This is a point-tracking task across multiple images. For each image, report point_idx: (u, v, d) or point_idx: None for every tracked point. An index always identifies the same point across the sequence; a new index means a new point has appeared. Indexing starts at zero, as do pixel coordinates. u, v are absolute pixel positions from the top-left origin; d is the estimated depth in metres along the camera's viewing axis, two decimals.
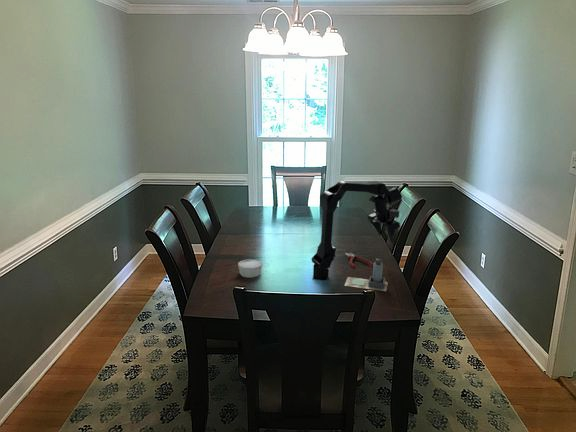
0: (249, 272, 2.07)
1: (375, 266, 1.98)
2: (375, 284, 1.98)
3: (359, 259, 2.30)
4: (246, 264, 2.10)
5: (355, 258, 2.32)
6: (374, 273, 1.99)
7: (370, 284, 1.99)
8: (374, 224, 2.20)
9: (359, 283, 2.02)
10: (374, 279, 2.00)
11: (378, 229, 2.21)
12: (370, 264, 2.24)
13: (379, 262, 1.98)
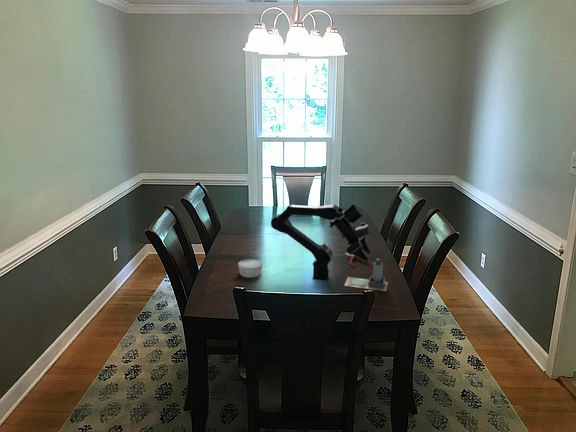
0: (249, 272, 2.07)
1: (375, 266, 1.98)
2: (375, 284, 1.98)
3: (359, 259, 2.30)
4: (246, 264, 2.10)
5: (355, 258, 2.32)
6: (374, 273, 1.99)
7: (370, 284, 1.99)
8: None
9: (359, 283, 2.02)
10: (374, 279, 2.00)
11: (365, 248, 2.05)
12: (370, 264, 2.24)
13: (379, 262, 1.98)
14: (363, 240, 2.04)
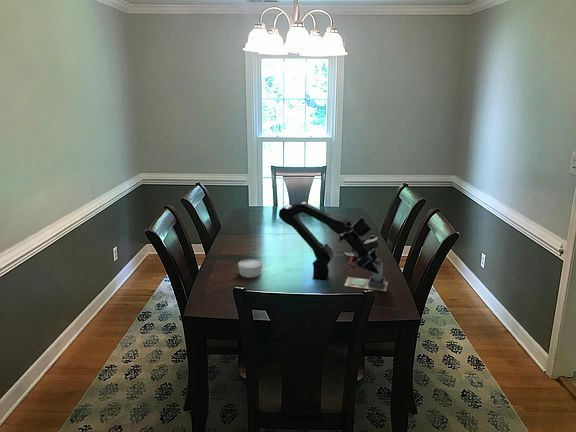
0: (249, 272, 2.07)
1: (375, 266, 1.98)
2: (375, 284, 1.98)
3: None
4: (246, 264, 2.10)
5: (355, 258, 2.32)
6: (374, 273, 1.99)
7: (370, 284, 1.99)
8: None
9: (359, 283, 2.02)
10: (374, 279, 2.00)
11: None
12: None
13: (379, 262, 1.98)
14: (373, 253, 2.04)
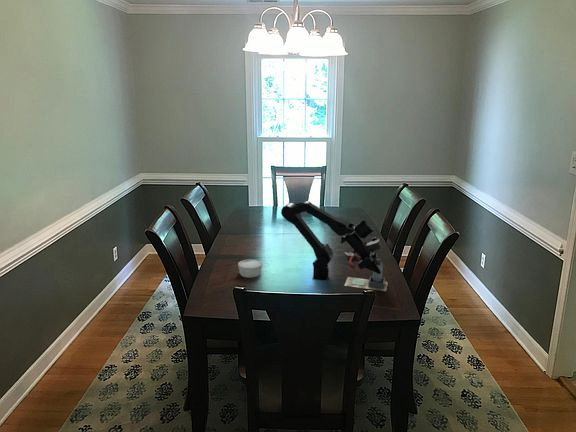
0: (249, 272, 2.07)
1: None
2: (375, 284, 1.98)
3: (358, 258, 2.31)
4: (246, 264, 2.10)
5: (354, 257, 2.33)
6: (374, 273, 1.99)
7: (370, 284, 1.99)
8: None
9: (359, 283, 2.02)
10: (374, 279, 2.00)
11: None
12: None
13: (379, 262, 1.98)
14: (374, 257, 2.02)
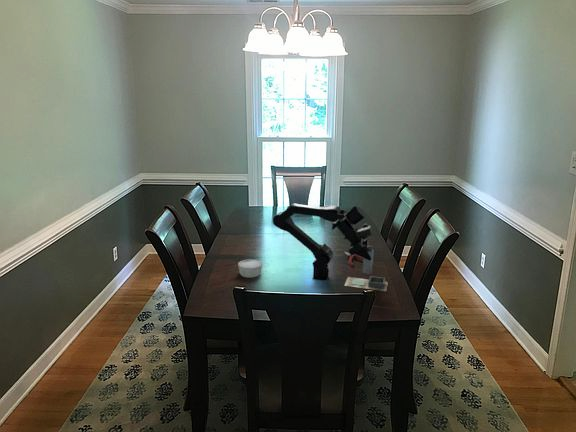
0: (249, 272, 2.07)
1: None
2: (375, 284, 1.98)
3: (358, 258, 2.31)
4: (246, 264, 2.10)
5: (354, 257, 2.33)
6: (365, 260, 1.99)
7: (370, 284, 1.99)
8: None
9: (359, 283, 2.02)
10: (365, 265, 1.99)
11: None
12: None
13: (370, 249, 1.97)
14: (365, 243, 2.01)
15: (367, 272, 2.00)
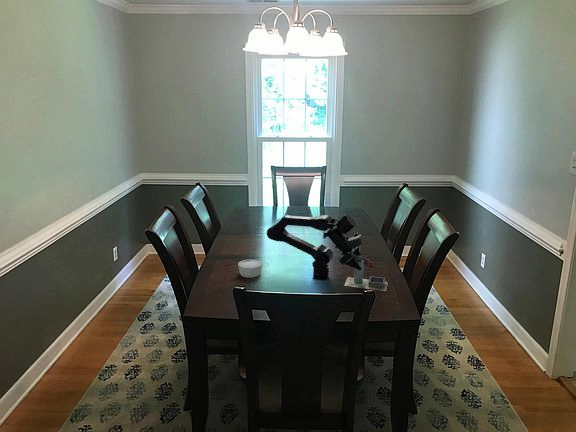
0: (249, 272, 2.07)
1: None
2: (375, 284, 1.98)
3: None
4: (246, 264, 2.10)
5: None
6: (355, 270, 2.01)
7: (370, 284, 1.99)
8: None
9: None
10: (355, 276, 2.02)
11: None
12: (368, 263, 2.26)
13: (360, 259, 2.00)
14: (357, 250, 2.05)
15: (358, 282, 2.02)
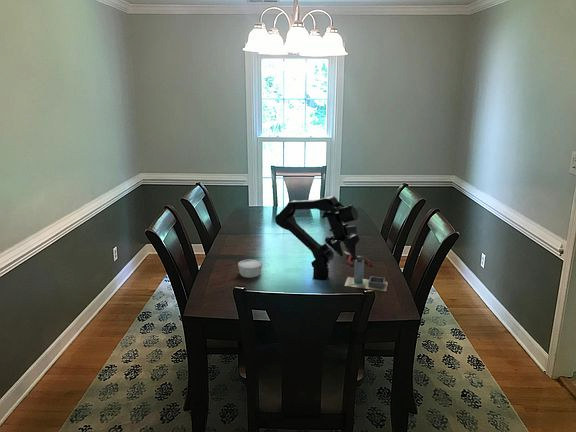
0: (249, 272, 2.07)
1: (356, 263, 2.00)
2: (375, 284, 1.98)
3: None
4: (246, 264, 2.10)
5: None
6: (355, 270, 2.01)
7: (370, 284, 1.99)
8: (333, 245, 2.05)
9: None
10: (356, 276, 2.02)
11: (339, 250, 2.06)
12: (368, 262, 2.26)
13: (360, 259, 2.00)
14: (339, 242, 2.06)
15: (358, 282, 2.02)
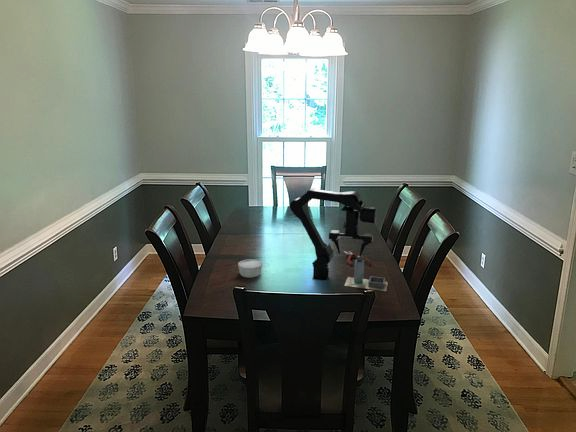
0: (249, 272, 2.07)
1: (356, 263, 2.00)
2: (375, 284, 1.98)
3: None
4: (246, 264, 2.10)
5: (353, 256, 2.35)
6: (355, 270, 2.01)
7: (370, 284, 1.99)
8: (338, 242, 2.00)
9: None
10: (356, 276, 2.02)
11: (339, 248, 2.02)
12: (368, 262, 2.27)
13: (360, 259, 2.00)
14: (339, 239, 2.03)
15: (358, 282, 2.02)
